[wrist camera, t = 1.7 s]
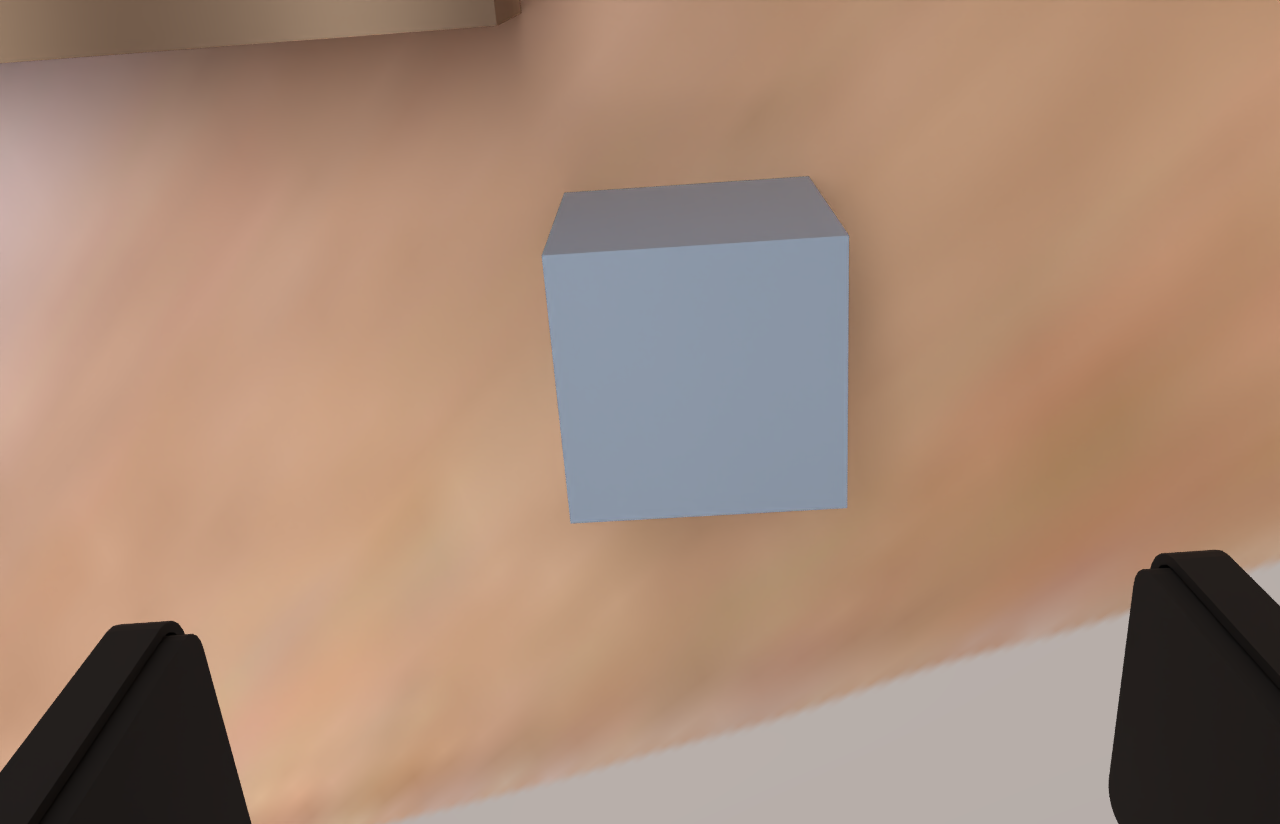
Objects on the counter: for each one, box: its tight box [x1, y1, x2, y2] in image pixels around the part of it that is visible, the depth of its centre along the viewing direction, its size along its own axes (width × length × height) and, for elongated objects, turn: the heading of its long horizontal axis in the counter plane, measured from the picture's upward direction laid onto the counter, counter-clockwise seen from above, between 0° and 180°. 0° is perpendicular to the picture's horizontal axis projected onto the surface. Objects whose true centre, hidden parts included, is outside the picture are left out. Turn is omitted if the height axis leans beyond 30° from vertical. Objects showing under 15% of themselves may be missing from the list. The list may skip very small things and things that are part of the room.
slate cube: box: [542, 176, 849, 523], centre depth 21 cm, size 5×5×5 cm
